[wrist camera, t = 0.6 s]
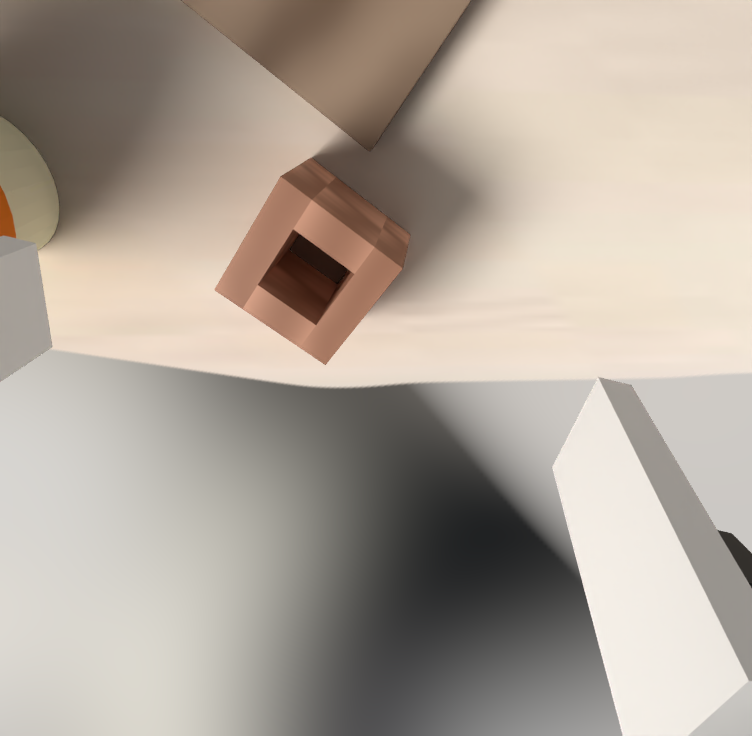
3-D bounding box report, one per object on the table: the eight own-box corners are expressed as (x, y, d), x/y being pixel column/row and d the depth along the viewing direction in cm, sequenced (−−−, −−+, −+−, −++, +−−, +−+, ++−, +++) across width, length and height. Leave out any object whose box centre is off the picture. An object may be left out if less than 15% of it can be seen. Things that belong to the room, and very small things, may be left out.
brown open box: (252, 254, 31) (214, 289, 26) (311, 157, 28) (280, 176, 23) (344, 319, 33) (325, 365, 28) (410, 234, 29) (402, 268, 24)
